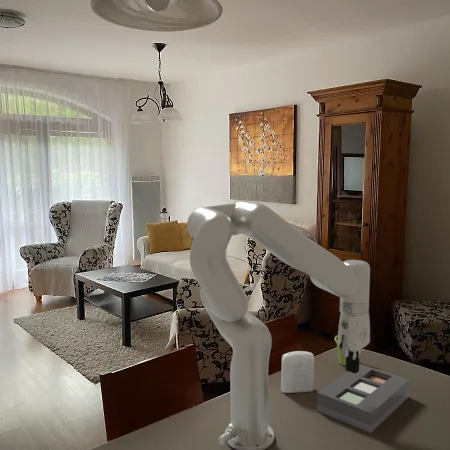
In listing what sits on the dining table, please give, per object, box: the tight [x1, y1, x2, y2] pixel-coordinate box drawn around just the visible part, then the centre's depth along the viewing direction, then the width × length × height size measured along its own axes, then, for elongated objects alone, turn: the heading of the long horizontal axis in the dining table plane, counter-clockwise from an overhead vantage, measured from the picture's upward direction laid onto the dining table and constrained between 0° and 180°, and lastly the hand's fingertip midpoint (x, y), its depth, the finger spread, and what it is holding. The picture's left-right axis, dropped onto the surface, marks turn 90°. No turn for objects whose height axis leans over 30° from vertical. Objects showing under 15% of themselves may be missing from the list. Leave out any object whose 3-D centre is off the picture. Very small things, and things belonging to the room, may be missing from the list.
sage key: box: [340, 392, 364, 405], centre depth 127 cm, size 6×6×2 cm
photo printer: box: [280, 350, 315, 394], centre depth 141 cm, size 10×4×12 cm, turn 98°
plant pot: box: [334, 335, 346, 367], centre depth 160 cm, size 9×9×9 cm
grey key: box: [353, 382, 377, 394], centre depth 133 cm, size 6×6×2 cm
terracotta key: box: [369, 376, 386, 384], centre depth 138 cm, size 6×6×2 cm
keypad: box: [316, 363, 411, 434], centre depth 133 cm, size 25×16×6 cm, turn 137°
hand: (352, 371), depth 126 cm, fingers closed
